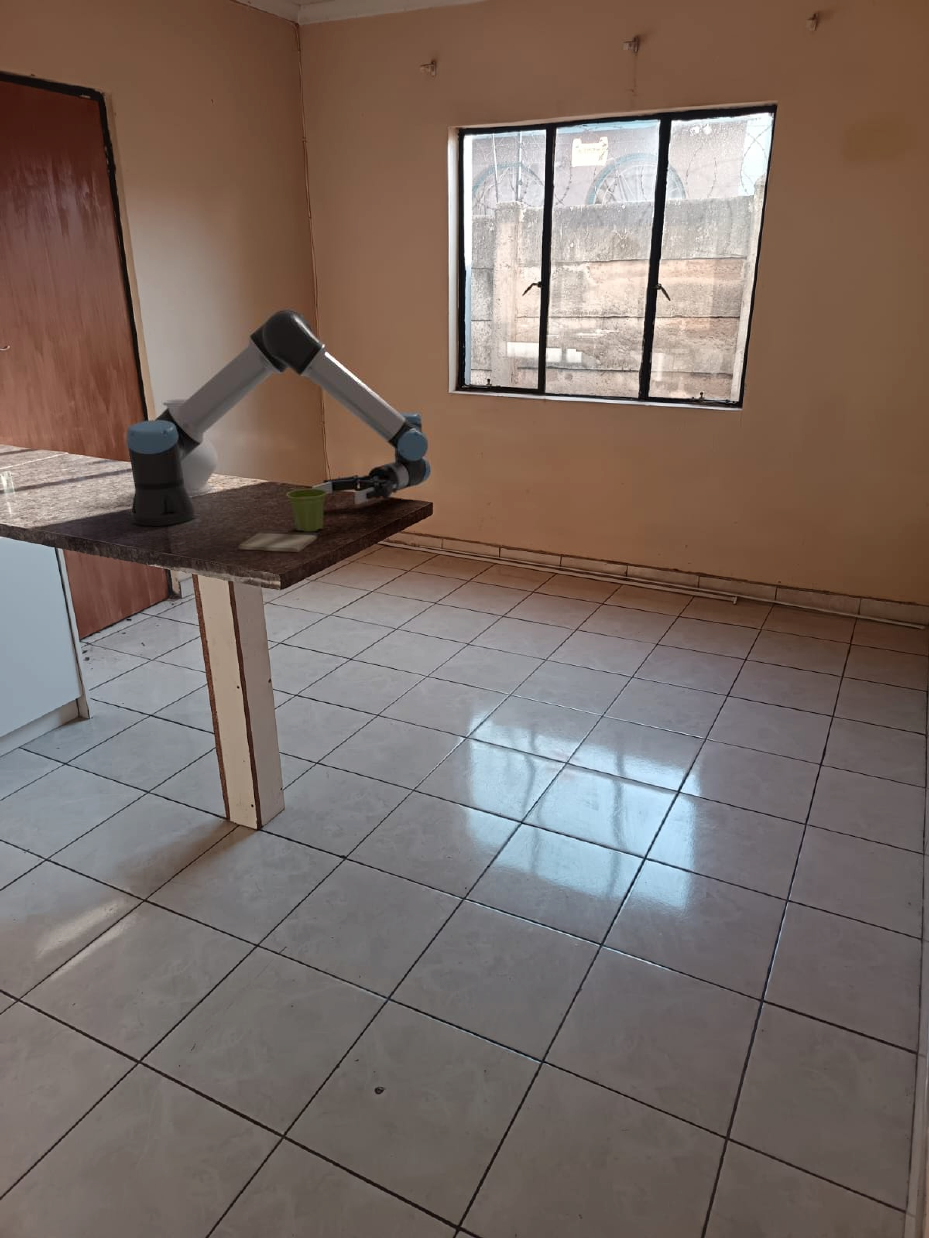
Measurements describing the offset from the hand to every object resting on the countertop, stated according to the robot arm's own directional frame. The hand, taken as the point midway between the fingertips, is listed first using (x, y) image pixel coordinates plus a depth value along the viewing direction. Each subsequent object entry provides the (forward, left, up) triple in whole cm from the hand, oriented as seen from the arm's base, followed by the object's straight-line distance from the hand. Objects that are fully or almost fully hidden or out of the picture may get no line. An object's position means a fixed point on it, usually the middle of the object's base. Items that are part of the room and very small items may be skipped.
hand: (334, 495), depth 211 cm
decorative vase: (-53, +24, -6) cm, 59 cm away
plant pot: (-3, -9, -6) cm, 12 cm away
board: (-5, -22, -6) cm, 23 cm away
